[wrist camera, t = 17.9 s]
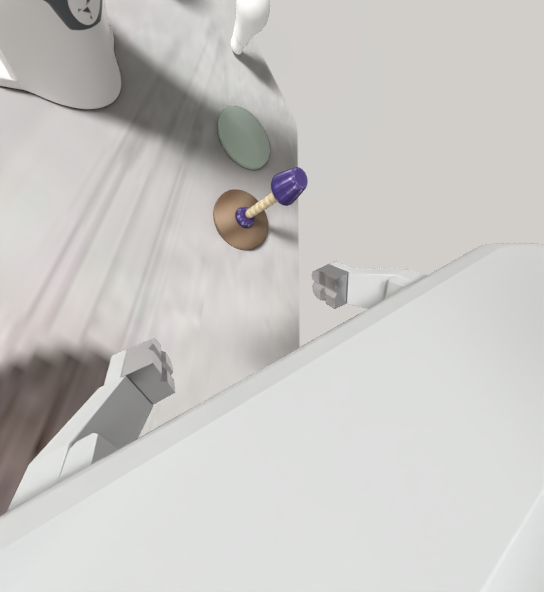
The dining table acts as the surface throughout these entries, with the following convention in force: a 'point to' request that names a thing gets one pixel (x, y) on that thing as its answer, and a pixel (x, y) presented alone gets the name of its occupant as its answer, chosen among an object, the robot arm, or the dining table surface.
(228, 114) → the sage coaster
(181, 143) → the dining table surface
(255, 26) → the lightbulb
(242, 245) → the walnut coaster
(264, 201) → the toy lamp
